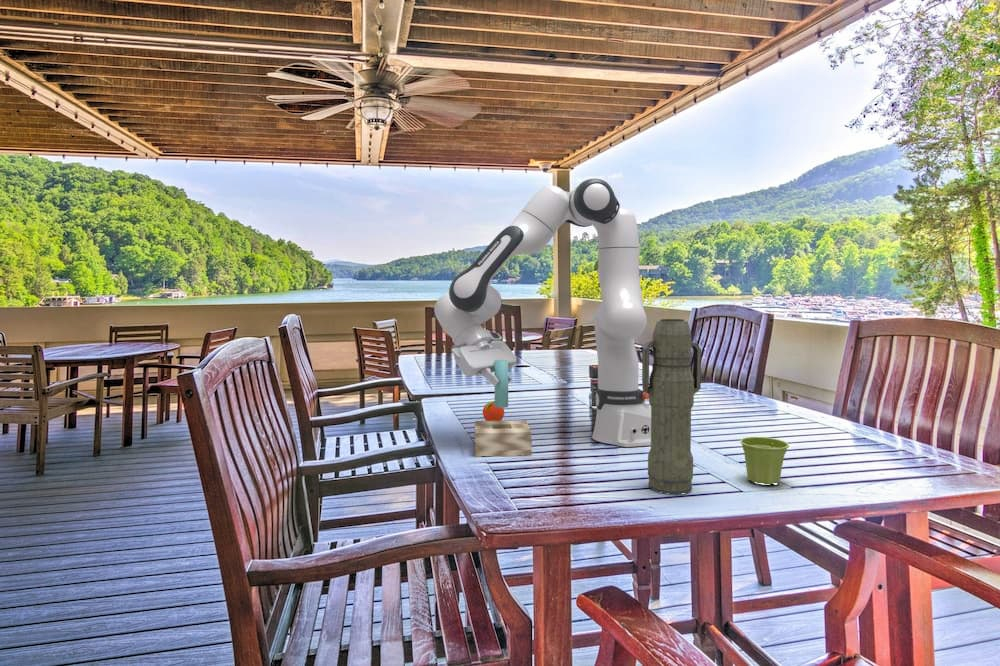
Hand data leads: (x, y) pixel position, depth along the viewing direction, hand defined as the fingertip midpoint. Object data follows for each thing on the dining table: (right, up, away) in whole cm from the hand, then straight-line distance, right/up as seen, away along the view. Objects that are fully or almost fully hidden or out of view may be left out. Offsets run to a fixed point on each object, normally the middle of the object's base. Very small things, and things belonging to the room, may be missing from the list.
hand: (503, 382), depth 147 cm
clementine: (-3, -16, +32) cm, 36 cm away
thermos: (+35, -20, -29) cm, 49 cm away
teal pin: (-1, -6, +1) cm, 6 cm away
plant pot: (+55, -19, -26) cm, 64 cm away
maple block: (0, -18, +1) cm, 18 cm away
